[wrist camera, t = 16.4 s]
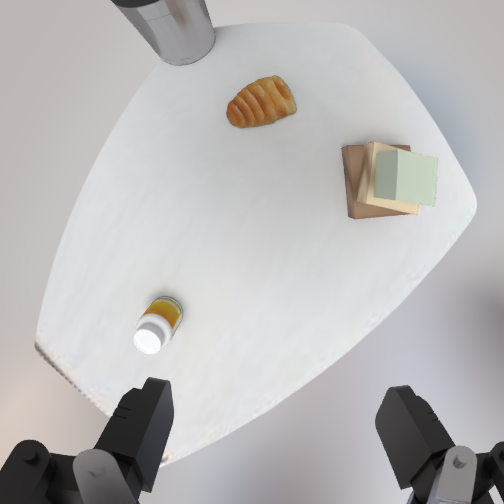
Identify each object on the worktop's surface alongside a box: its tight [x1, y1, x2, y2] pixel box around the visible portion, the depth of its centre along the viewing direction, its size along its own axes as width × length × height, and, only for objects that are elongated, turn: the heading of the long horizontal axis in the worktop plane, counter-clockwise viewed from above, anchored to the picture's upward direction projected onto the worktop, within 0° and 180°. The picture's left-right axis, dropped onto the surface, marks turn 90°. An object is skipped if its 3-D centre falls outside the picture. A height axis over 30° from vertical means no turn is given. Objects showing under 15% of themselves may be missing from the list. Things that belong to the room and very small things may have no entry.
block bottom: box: [341, 145, 411, 219], centre depth 37 cm, size 10×10×4 cm
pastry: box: [226, 76, 297, 128], centre depth 34 cm, size 9×7×4 cm
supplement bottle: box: [134, 297, 183, 354], centre depth 38 cm, size 5×5×10 cm
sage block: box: [374, 149, 438, 206], centre depth 28 cm, size 6×6×6 cm
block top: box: [357, 141, 419, 215], centre depth 33 cm, size 8×8×4 cm
